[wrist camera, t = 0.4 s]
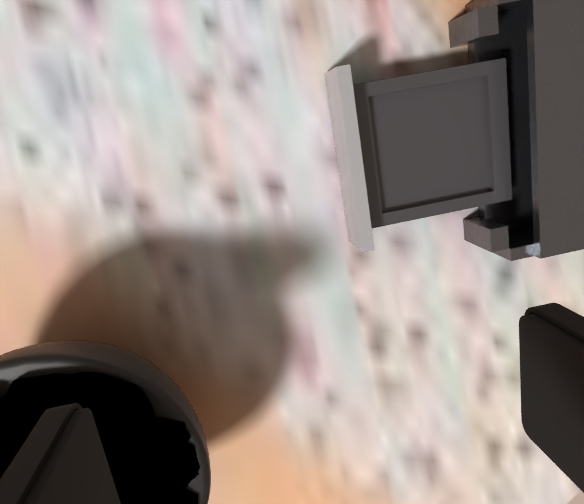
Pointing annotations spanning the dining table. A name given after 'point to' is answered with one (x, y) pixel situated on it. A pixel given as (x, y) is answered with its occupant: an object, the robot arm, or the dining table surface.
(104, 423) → the bowl of black rocks
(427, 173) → the tray
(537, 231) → the player
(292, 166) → the dining table surface
